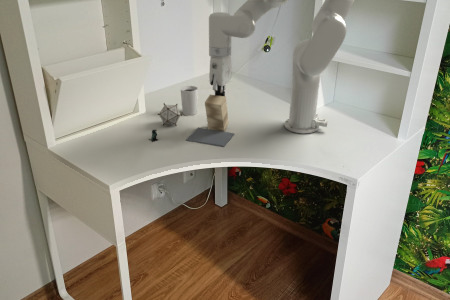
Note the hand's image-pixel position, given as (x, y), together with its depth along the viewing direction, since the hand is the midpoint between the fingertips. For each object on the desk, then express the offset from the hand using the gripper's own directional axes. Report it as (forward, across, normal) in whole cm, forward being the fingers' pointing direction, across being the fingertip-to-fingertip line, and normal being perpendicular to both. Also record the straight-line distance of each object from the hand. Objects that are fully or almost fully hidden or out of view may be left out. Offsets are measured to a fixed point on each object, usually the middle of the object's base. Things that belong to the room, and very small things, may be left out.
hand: (219, 101), depth 156 cm
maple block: (+9, -2, 0) cm, 9 cm away
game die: (+10, -5, +18) cm, 21 cm away
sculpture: (+10, -19, +18) cm, 28 cm away
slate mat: (+10, -10, 0) cm, 14 cm away
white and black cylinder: (+10, +8, +16) cm, 21 cm away
